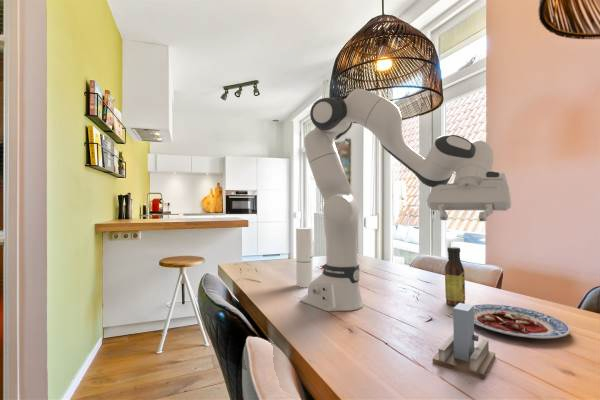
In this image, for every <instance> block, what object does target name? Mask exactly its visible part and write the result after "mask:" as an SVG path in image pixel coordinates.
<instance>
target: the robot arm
mask: <svg viewBox="0 0 600 400" xmlns="http://www.w3.org/2000/svg"><path fill="white" fill-rule="evenodd" d="M309 115H310V120H311V123H312V124H313V125H314V126H315V128H314V129H312V130H310V131H309V132H308V133H306V135H304V140H303V143H304V148H305V149H304V150H305V154H306V158H307V162H308V164H309V167H310V170H311V173H312V176H313V179H314V181H315V184H316V187H317V189H318V190H319V192H320V193H319V194H321V197H322V199H323V201H324V205H323V209H322V212H323V225H324V234H325V235H324V236H325V242H326V243H325V244H326V249H325V250H326V252H325V253H326V259H325V261H326V263H324V264H323V265H320V266H319V267H320V268H319V269H320V270H322V273H321V275H319V276H318V277H316V278H315V279H313V281H312V282H311V283H310V285H309V287H308V288H307V294H304V295H303V296H302V297H301V302H302V303H306V304H308V305H310V306H313V307H315V308H318V309H320V310H323V311H325V312H335V311H340V312H341V311H342V312H344V311H348V312H349V311H353V310H354V311H355V310H358V309H361V308H362V307H363V306H364V303H363V300H362V295H361V289H360V264H359V261H358V260H359V252H358V251H359V249H358V248H359V246H358V244H359V242H358V241H359V240H358V228H357V217H358V213H359V205H358V203H357V199H356V198H355V195H354V194H355V193H354V191H353V189H352V186H351V184H350V182H349V179H348V176H347V174H346V172H345V170H344V169H345V168H344V167H343V164H342V161H341V157H340V155H339V152H338V149H337V146H336V143H335V141H336V140H339V139H340V138H341V137H343V135H345V134H346V133H347V132H349V131H350V130H351V128H352V126H353V124H354V123H357V124H359V125H360V126H362V127H364V128H365V129H367V130H368V131H370V132H371V133H372V134H373V135H374V136H375V137H376V138H377V140H378V141H379V143H380V145H381V147H382V148H383V149H384V150H385V152H387V153H389V154H390V155H391V156H392V157H393V158H394V159H396V160H397V161H398V162H399V163H400V164H402V165H403V166H404V167H406V169H408V170H409V171H410V172H412V173H413V174H414V175H415V176H416V177H417V179H418V180H419V182H421V183H422V184H423V185H425V186H427V187H429V188H431V189H430V193H429V195H428V197H427V199H426V203H427V207H428V208H429V209H430V210H431V211H439V218H440V219H439V220H440V221H447V220H448V217H449V216H448V212H447V211H480V212H479V213H478V214H479V215H478V219H479V220H478V221H479V222H487V220H488V217H489V216H490V215H492V214H493V213H494V211H501V212H502V211H503V212H504V211H505V212H506V211H508V210H509V209H511V206H512V200H511V193H510V188H509V185H508V180H507V178H506V174H505V173H504V172H499V171H493V170H492V169H493V166H494V165H493V164H494V151H493V149H492V147H491V145H490V144H489V143H487V142H486V141H484V140H481V139H474V140H468V139H467V138H466V137H464V136H460V135H457V134H444V135H443V134H442V135H440V136H438V137H436V139H435V141H434V142H433V144H432V146H431V147H430V149H429V151H428V153H427V154H426V157H425V158H424V157H423V156H422V155H421V154H419V153H418V152H417V151H415V150H414V149H413V148H412V147H410V146H409V145H408V144H407V143H406V142H405V140H404V137H403V129H402V128H403V127H402V126H403V119H402V118H403V117H402V113H401V111H400V108H399V107H398V106H397V104H395V103H394V102H393V101H391V100H390V99H387V98H385V97H383V96H382V95H379V94H377V93H375V92H373V91H369V90H367V89H363V88H356V89H354V90H352V91H351V92H350V93H349V94H348V95H347V96H346V98H345V99H343V98H342V97H339V96H338V97H323V98H320V99H317V100H316V101H315V102H313V104H312V105H311V109H310V111H309ZM454 173H455V176H454V179H453V183H449V181H450V179H451V178H452V176H453V174H454Z"/></svg>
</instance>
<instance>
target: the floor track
mask: <svg viewBox="0 0 600 400" xmlns="http://www.w3.org/2000/svg"><path fill="white" fill-rule="evenodd" d="M489 346H490V345H489V339H485V338H482V339H481V341H480V342H479V344H478V345H477V346H476V347H475V346H474V352H473V354H472V355H471V357H470V361H469V362H468V361H464V360H461V359H457V358H454V332H453V333H452V334H451V335H450V336H449V337H448V338H447V339H446V340H445V341H444V342H443V343H442V345H441V346H440V347H439V348H438V352H437V353H436V354H435V355H434V356H433V358H432V364H435V365H437V366H441V367H444V368H447V369H451V370H454V371H456V372H460V373H462V374H467V375H469V374H470V376H473V377H476V378H479V379H482V380H484V379H485V378H486V376H487V374H488V372H489V369H490V368H491V366H492V364H493V362H494V360H495V358H496V352H494V351H491V350H489Z"/></svg>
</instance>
